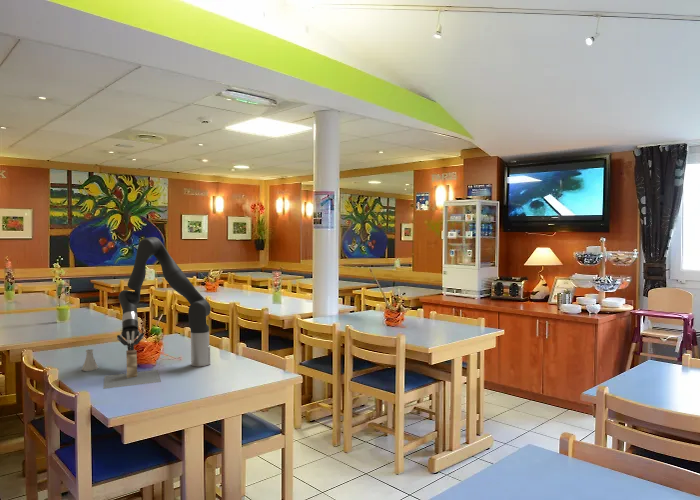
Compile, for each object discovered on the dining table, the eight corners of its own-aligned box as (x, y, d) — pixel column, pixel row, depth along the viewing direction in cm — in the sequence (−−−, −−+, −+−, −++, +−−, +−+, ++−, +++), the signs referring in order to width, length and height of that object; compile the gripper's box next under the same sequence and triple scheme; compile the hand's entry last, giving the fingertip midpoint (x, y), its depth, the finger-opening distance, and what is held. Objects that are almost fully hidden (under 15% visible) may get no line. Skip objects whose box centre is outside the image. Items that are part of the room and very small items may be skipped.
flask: (91, 372, 254) (90, 352, 253) (78, 371, 255) (78, 351, 255) (101, 368, 261) (100, 348, 260) (88, 367, 262) (88, 348, 262)
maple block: (136, 374, 248) (136, 349, 247) (137, 376, 244) (136, 351, 243) (126, 375, 246) (126, 350, 245) (127, 377, 242) (126, 352, 241)
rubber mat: (157, 370, 255) (157, 369, 255) (161, 382, 235) (161, 381, 235) (104, 376, 245) (104, 375, 245) (103, 389, 225) (103, 388, 225)
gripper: (115, 319, 259) (116, 348, 248) (144, 317, 264) (145, 345, 254) (116, 327, 264) (116, 356, 253) (143, 325, 269) (145, 354, 259)
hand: (130, 351), depth 253 cm, fingers closed
